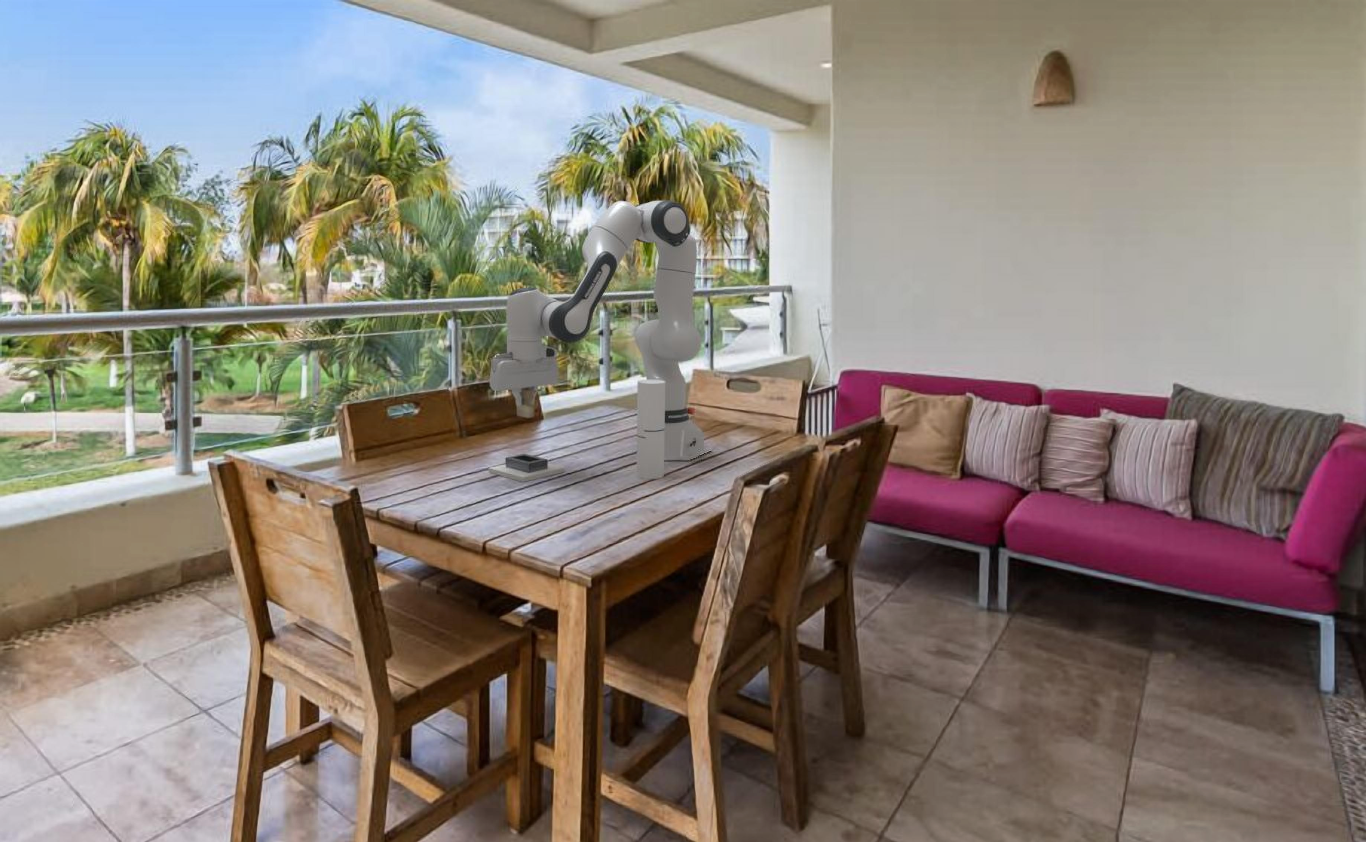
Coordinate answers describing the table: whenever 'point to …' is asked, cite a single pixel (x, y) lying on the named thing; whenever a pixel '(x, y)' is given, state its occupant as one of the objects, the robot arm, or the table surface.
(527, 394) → the wooden block
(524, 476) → the plate
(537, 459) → the frame
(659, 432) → the cylindrical container
